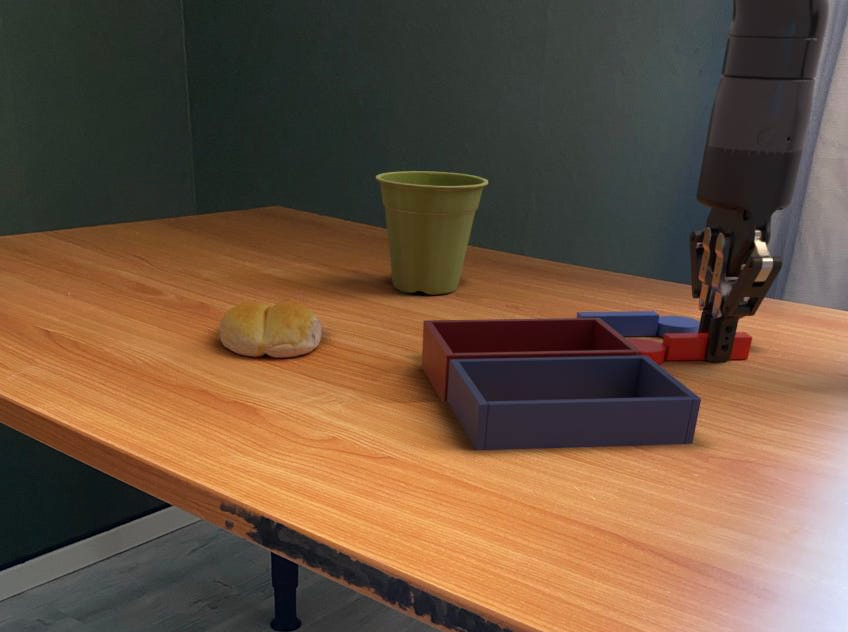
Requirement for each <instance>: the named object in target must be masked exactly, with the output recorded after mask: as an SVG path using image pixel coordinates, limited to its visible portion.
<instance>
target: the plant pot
mask: <svg viewBox="0 0 848 632" xmlns="http://www.w3.org/2000/svg"><path fill="white" fill-rule="evenodd" d="M375 180H376V181H377V182H378V183H380V189H381V190H380V192H381V199H382V205H383V206H384V213H385V221H386V230H387V240H388V241H387V242H388V249H389V259H390V260H389V261H390V269H391V270H390V271H391V279H392V281H391V282H392V286H393V287H394V288H395V289H396V290H398V291H402V292H403V293H406V294H407V293H408V294H413V293H416V292H423V293H424V294H426V295H430V296H438V295H441V294H442V295H443V294H445V295H447V294H451V293H453V292H455V291H456V290H457V288H458V287H459V285H460V281H461V276H462V272H463V268H464V263H465V258H466V254H467V249H468V245H469V241H470V237H471V232H472V227H473V223H474V221H475V220H474V219H475V214H476V211H477V210H478V209H479V206H480V201H481V197H482V195H483V189H484V188H486V187H487V186H488V185H489V180H488V179H486V178H484V177H481V176H477V175H473V174H465V173H457V172H447V171H432V170H431V171H429V170H427V171H426V170H424V171H420V170H417V171H416V170H409V171H408V170H405V171H404V170H403V171H390V172H382V173H379V174H377V175H375Z"/></svg>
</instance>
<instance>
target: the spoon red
mask: <svg viewBox="0 0 848 632" xmlns="http://www.w3.org/2000/svg"><path fill="white" fill-rule="evenodd" d="M662 338H663V339H662V342H659V341H656V340H652V339H646V338H645V339H644V338H626V339H627V340H628V341H629V342H630V343H632V344H633V345H634V346H635V347H637V348H638V349H639V350H640V351H642V354H641V356H648V357H649V358H650V359H652V360H653V361H654V362H656V363H657V364H658V365H661V364H662V363H663V362H664V361H665V360H666V361H670V362H671V361H707V360H706V359H705V350H706V345H707V340H708V333H665V334H664V337H662ZM752 342H753V336H752V335H750V334H749V333H747V332H745V331H736V334H735V339H734V344H733V349H732V353H731V357H730V359H729V360H748V359H749V355H750V351H751V348H752V347H751V346H752Z"/></svg>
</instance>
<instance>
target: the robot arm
mask: <svg viewBox="0 0 848 632" xmlns="http://www.w3.org/2000/svg"><path fill="white" fill-rule="evenodd" d="M829 1H830V0H732V5H733V6H732V17H731V21H730V24H729V30H728V33H727V34H728V37H727V40H726V46H725V51H724V57H723V62H722V67H721V73H720V74H721V76H720V79H719V83H718V86H717V91H716V93H715V96H714V100H713V104H712V107H711V112H710V116H709V117H710V118H709V123H708V127H707V134H706V140H705V145H704V151H703V156H702V162H701V168H700V173H699V179H698V185H697V189H696V200H697V201H698V203H699V204H701V205H703V206H706V207H708V208H710V211H709V213H708V215H707V218H706V221H705V228H703V230H692V231H691V232H690V235H689V239H688V240H689V260H690V280H691V297H692V298H693V299H698V309H699V311H701V314H700V320H699V322H700V324H699V330H698V333H708V340H707V345H706V350H705V359H706V360H705V361H707V362H709V363H727V362H728V361H729V360H731V359H730V357H731V353H732V349H733V344H734V339H735V334H736V332H737V329H738V325H739V321H740V319H741V320H742V319H744V318H745V317H754V316H755V315H756V313H757V311H758V310H759V307H760V306H761V304H762V303H763V301H764V299H765V297H766V296H767V294H768V293H769V290H770V289H771V287H772V286H773V283H774V282H775V280H776V279H777V277H778V275H779V273H780V272H781V270H782V268H783V258H782V257H781V256H776V255H775V256H771V254H770V251H769V248H768V245H769V244H770V240H771V237H772V216H773V214H774V213H776V211H783V210H785V209H787V208H788V207H789V206H790V205H791V204H792V201H793V197H794V192H795V188H796V183H797V180H798V174H799V171H800V166H801V161H802V156H803V152H804V147H805V144H806V139H807V135H808V130H809V126H810V121H811V117H812V110H813V103H814V102H813V101H814V91H815V84H816V79H815V78H817V74H818V69H819V64H820V59H821V55H822V51H823V46H824V42H825V38H826V33H827V29H828V24H829V17H830V2H829Z"/></svg>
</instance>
